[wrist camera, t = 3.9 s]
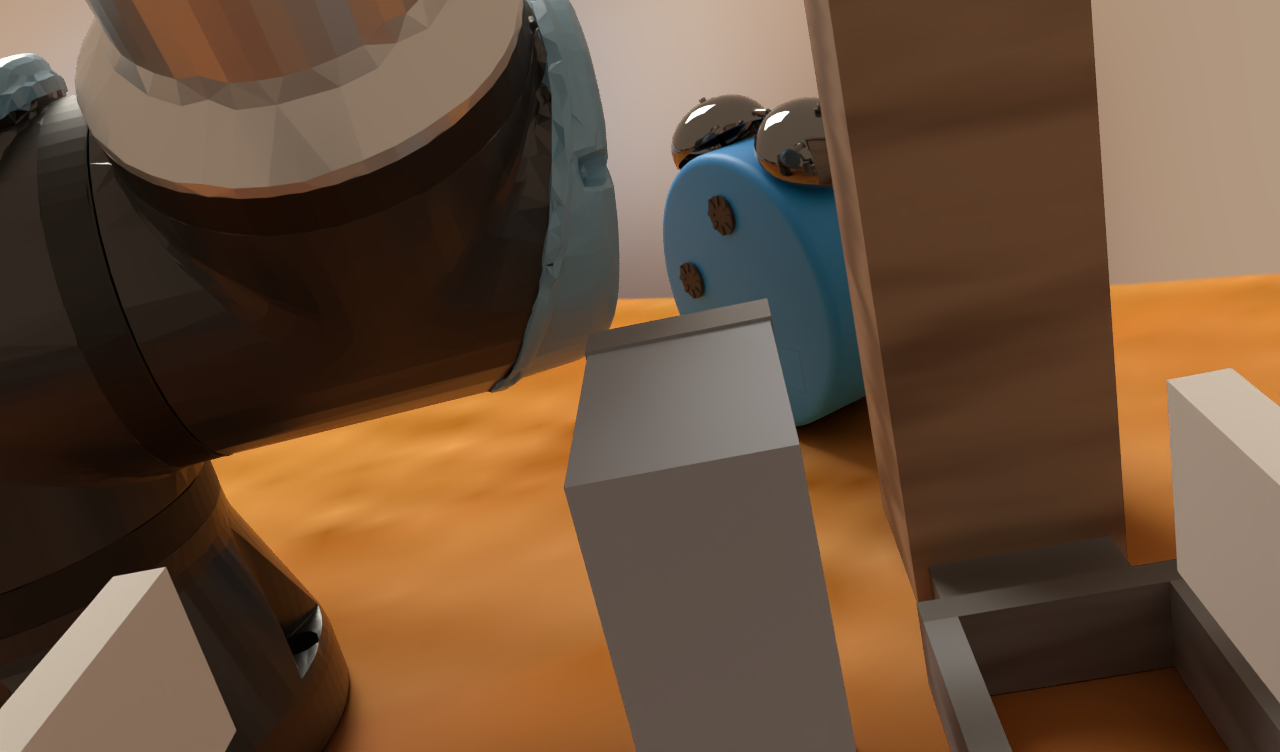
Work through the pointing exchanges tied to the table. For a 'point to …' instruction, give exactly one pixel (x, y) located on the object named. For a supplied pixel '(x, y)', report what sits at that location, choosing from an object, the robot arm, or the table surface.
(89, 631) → the robot arm
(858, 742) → the table surface
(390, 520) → the table surface
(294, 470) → the table surface
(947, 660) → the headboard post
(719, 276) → the alarm clock
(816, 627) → the rail end
